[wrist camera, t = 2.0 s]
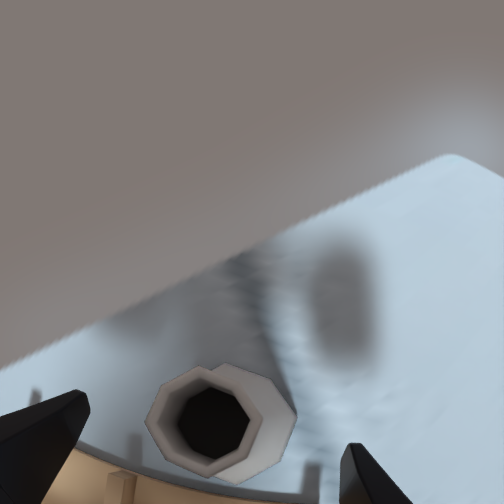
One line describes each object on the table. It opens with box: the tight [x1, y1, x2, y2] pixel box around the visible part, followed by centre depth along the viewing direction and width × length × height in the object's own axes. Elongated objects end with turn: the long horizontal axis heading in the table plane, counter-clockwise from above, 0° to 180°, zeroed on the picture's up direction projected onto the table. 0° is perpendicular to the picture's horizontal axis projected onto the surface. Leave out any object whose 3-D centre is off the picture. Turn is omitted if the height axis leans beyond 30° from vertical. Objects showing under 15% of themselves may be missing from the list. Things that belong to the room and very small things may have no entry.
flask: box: [145, 363, 298, 485], centre depth 12 cm, size 7×7×10 cm
